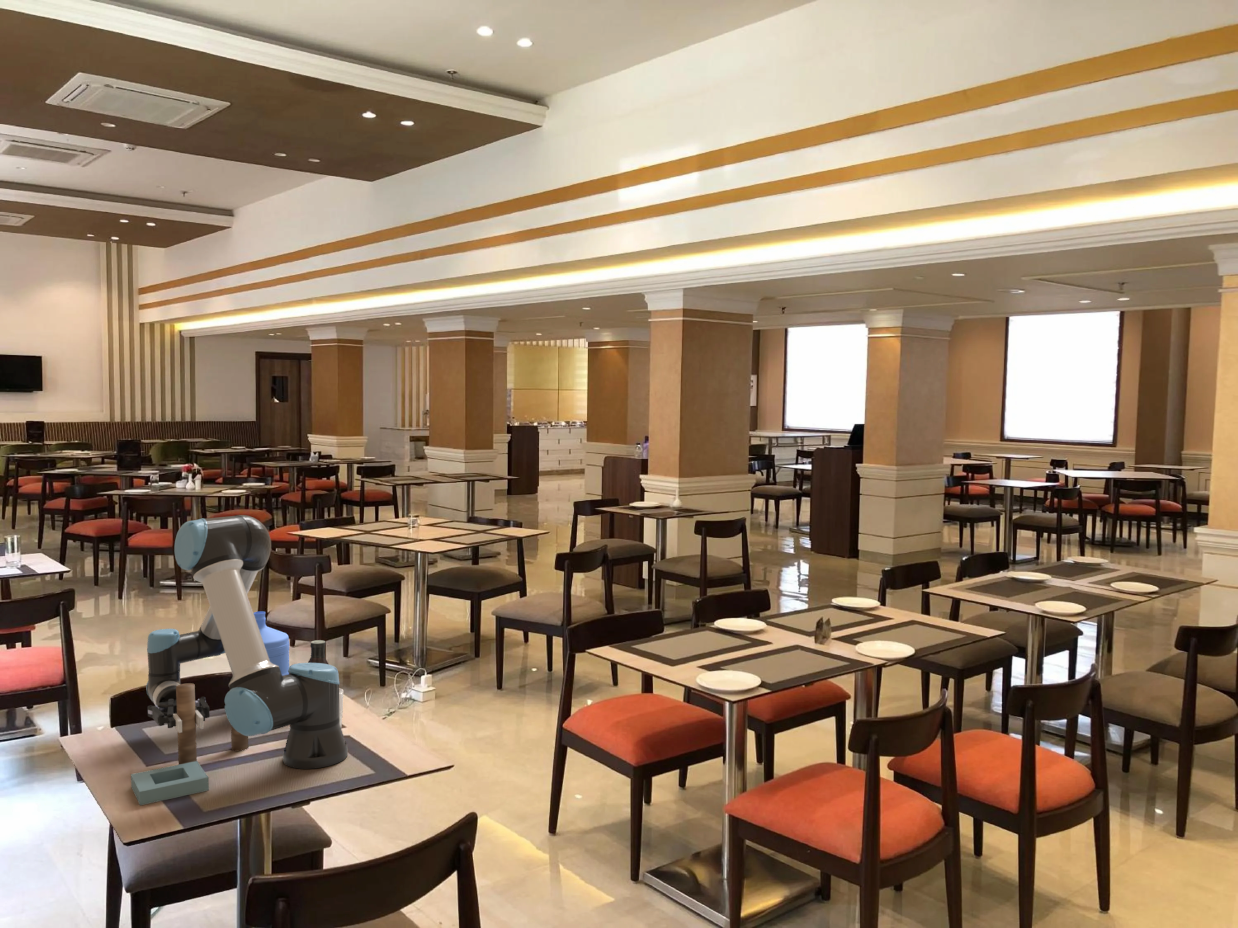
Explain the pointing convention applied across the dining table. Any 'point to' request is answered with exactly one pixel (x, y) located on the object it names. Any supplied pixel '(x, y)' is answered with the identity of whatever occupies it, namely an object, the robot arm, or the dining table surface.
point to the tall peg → (186, 723)
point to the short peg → (238, 740)
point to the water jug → (274, 643)
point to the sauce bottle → (318, 652)
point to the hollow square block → (169, 782)
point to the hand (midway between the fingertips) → (191, 724)
